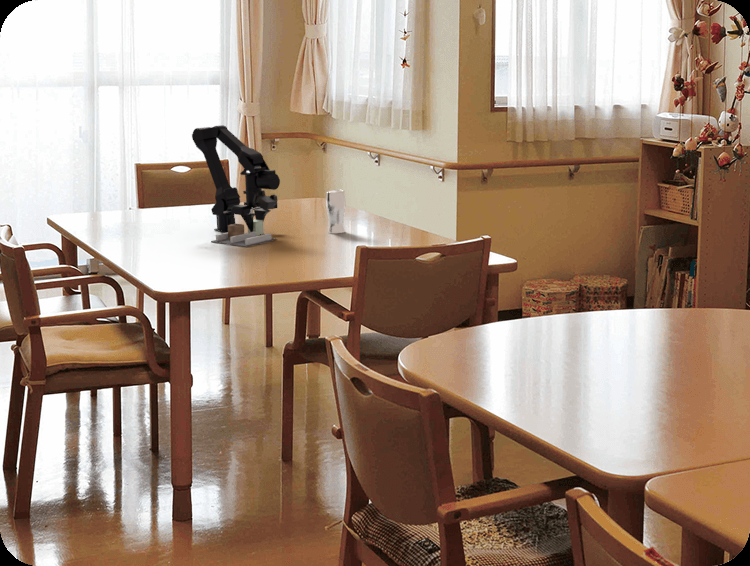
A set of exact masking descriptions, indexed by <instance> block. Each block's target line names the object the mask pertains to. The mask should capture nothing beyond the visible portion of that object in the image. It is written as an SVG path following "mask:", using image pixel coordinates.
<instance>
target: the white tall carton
mask: <svg viewBox="0 0 750 566" xmlns="http://www.w3.org/2000/svg"><path fill="white" fill-rule="evenodd" d="M325 195H326V196H325V206H326V213H327V218H328V229H327V230H328V231H327V233H328V234H332V235H339V234H345V233H346V229H345V225H344V220H345V212H346V194H345V190H342V189H333V190H332V189H331V190H326V194H325Z"/></svg>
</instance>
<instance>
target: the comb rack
mask: <svg viewBox="0 0 750 566" xmlns="http://www.w3.org/2000/svg"><path fill="white" fill-rule="evenodd" d="M244 233H245V232H244ZM274 241H277V238H274V237H273V238H272V233H265V234H261V235H256V232H250V233H248V232H246V233H245V234H241V235H237V236H232V237H230V239H228V232H223V233H219V234H215V239H214V240H210V243H214V244H221V245H229V246H235V247H236V246H237V247H240V248H249V247H253V246H258V245H261V244H265V243H266V244H267V243H270V242H274Z"/></svg>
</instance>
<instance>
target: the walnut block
mask: <svg viewBox="0 0 750 566" xmlns="http://www.w3.org/2000/svg"><path fill="white" fill-rule="evenodd" d="M241 234H245V224H242V223H235V224H231V225H228V239H230V237H232V236H237V235H241Z"/></svg>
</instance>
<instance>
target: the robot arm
mask: <svg viewBox="0 0 750 566" xmlns="http://www.w3.org/2000/svg"><path fill="white" fill-rule="evenodd" d="M191 139H192V141H193V143H194V145H195V146H196V148H197V149H198V150H199V151H201V153H202V155H203V156H204V159H205V162H206V164H207V168H208V170H209V172H210V175H211V178H212V181H213V184H214V186H215V188H216V189H215V190H216V191H215V202H216V203H214V205H213V206H212V208H211V213H212V215H213V216H215V217H216V228H214V229H213V230H214V231H217V232H223V233H227V232H228V225H231V224H236V217H235V215H239V216H241V218H242V219H243V221H244V223H245V224H246V225H245V226H247V229H248V228H249V230H250V232H253V220H254V219H257V220H263V223H264V221H265V219H266V216H267V215H268V214H269V213H270V212H271V211H272V210H275V209H278V195H276V194H270V195H266V192H265V190H273V191H275V190H277V189H278V188H279V187H280V183H281V180H280V177H279V175H278V174H277V173H276V170H275V169H272V170H270V168H269V165H268V164H267V163H266V160H265V159H264V155H263V154H262V153H261V152H260V151H258V150H256V149H254V148H251V147H248V146H247V145H246V144H244V142H242V141H241V140H240V139H239V138H238V137H237V136H235V135H234V134H233V132H231V131H230V130H229V129H228V127H227V126H225V125H223V124H222V125H214V126H211V127H210V126H206V127H205V126H204V127H196V128H194V130H193V131H192V134H191ZM218 140H219V141H220V142H221V143H222V144H223V145H224V146H225V147H226V148H227V149H229V151H231V152H232V153H233V154H234V155H235V156H236V157H237V160H238V163H239V164H240V165H241V167H242V169H243V170H242V171H241V172H240V176H244V178H245V179H244V181H245V182H244V183H245V190H243V191H242V192H243V195H245V198H246V200H245V201H244V202H243V204H241V199H240V198H241V196H240V194H239V191H238V189H237V187H232V186H231V185H230V183H229V180H228V178H227V175H226V172H225V168H224V167H223V164H222V161H221V158H220V156H219V153H218V150H217V144H218ZM263 189H264V190H263ZM254 217H255V218H254Z"/></svg>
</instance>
